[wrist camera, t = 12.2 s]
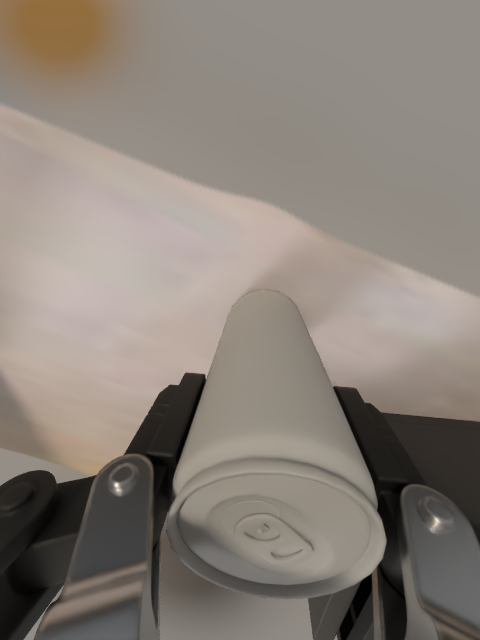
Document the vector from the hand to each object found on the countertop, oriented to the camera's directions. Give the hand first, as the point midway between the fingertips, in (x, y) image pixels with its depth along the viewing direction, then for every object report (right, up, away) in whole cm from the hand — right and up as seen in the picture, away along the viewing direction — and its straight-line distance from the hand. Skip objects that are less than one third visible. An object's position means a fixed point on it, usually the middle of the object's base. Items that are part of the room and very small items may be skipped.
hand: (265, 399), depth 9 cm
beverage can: (+1, +3, +7) cm, 8 cm away
